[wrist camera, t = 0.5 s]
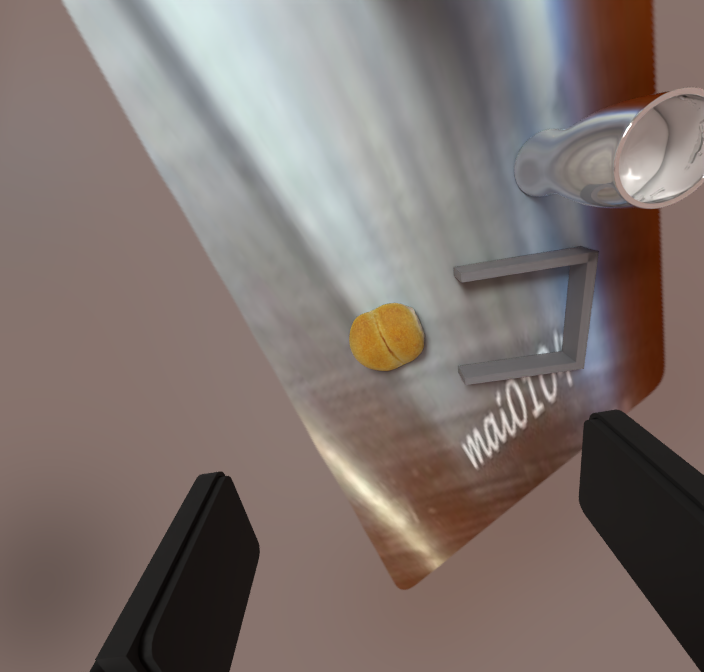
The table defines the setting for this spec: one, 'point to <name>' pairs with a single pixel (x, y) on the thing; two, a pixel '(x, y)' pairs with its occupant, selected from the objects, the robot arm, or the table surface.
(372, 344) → the bread roll
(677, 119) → the beer glass
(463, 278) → the frame
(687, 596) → the robot arm
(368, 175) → the table surface
